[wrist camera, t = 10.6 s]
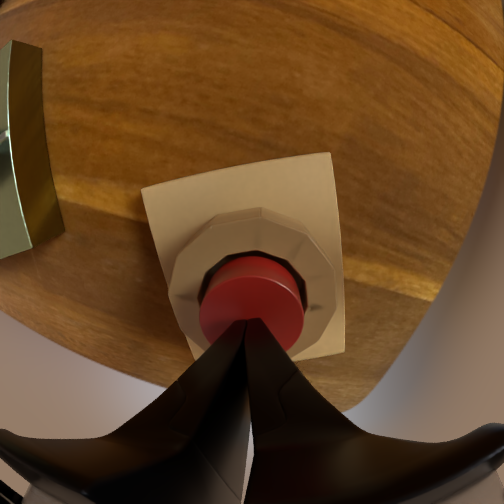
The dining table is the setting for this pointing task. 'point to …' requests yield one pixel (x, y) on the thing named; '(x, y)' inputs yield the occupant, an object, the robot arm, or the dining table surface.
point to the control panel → (24, 154)
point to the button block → (254, 240)
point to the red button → (253, 299)
